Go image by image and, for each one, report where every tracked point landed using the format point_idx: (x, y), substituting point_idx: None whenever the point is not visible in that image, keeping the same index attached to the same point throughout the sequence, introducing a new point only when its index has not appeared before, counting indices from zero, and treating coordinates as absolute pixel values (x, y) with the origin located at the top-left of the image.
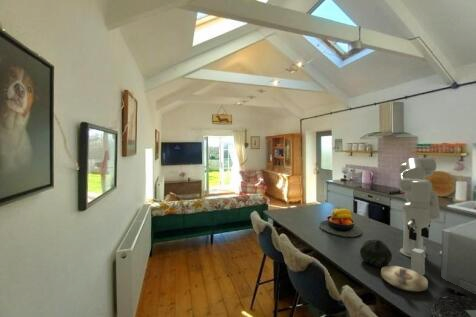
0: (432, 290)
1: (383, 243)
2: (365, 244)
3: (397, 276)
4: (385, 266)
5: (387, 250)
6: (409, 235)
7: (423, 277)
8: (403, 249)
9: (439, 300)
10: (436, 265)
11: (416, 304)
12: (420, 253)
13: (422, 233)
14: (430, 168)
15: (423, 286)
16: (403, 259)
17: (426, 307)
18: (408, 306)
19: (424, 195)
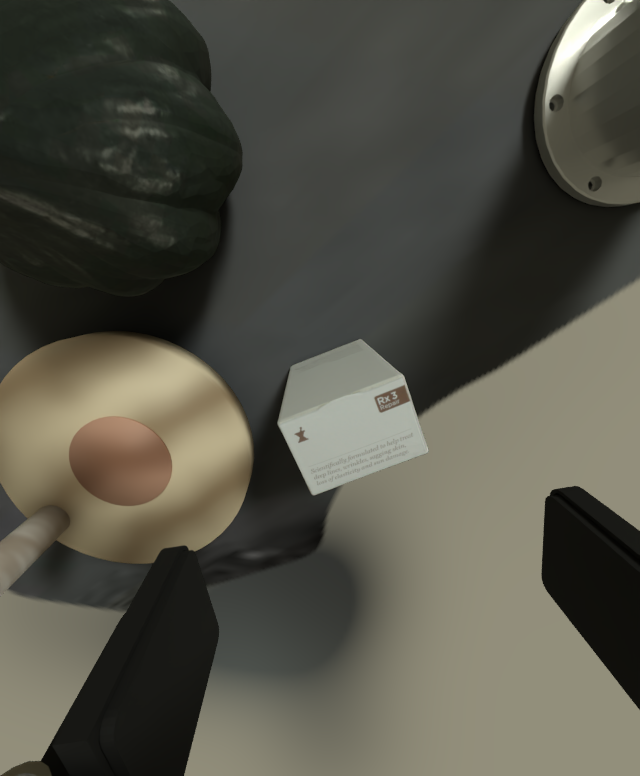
0: (250, 512)
1: (30, 174)
2: None
3: (70, 465)
4: (77, 339)
5: (103, 256)
6: (138, 607)
7: (232, 504)
8: (606, 22)
9: (207, 567)
10: (577, 318)
11: (78, 568)
12: (311, 492)
13: (593, 561)
14: None
15: (149, 562)
16: (442, 171)
17: (106, 587)
18: (31, 570)
19: None
